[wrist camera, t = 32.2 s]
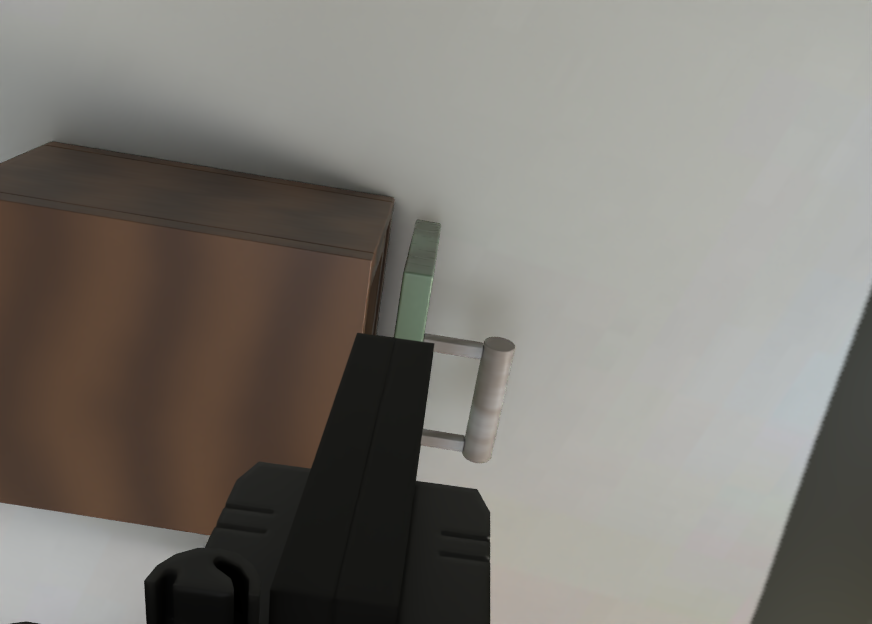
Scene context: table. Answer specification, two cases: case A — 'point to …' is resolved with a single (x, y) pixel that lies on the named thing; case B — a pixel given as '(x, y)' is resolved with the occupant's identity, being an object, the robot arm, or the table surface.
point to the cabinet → (170, 328)
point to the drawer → (447, 346)
